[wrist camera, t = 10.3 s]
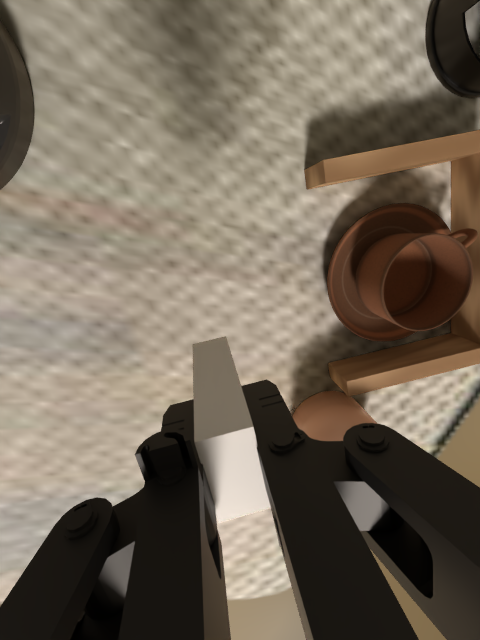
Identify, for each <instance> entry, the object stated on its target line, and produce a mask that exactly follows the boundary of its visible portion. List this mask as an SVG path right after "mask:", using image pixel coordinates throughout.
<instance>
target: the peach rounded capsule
mask: <svg viewBox="0 0 480 640" xmlns="http://www.w3.org/2000/svg"><path fill="white" fill-rule="evenodd" d="M292 417H293V419H294V421H295V423H296V425H297V427H298V428H299V429H300V430H303V431H304V432H305V433H306V434H307V435H308V436H309V437H310V438H312V439H316V440H320V441H343V437H344V435H345V433H346V431H347V430H348V429H350V428H351V427H352V426H355V425H358V424H361V423H376V424H377V422H376V421H375V420H374V419H373V418H372V417H371V416H370V415H369V414H368V413H367V412H366V411H365V410H364V409H363V408H362V407H361V406H360V405H359V403H358V402H357V401H356V400H355V399H354V398H352V397H351V396H350V397H348V396H347V395H346V394H345V393H343V392H339V391H325V392H320V393H317V394H315V395H313V396H311V397H309V398H307V399H306V400H305V401H303V402H302V403H301V404H300V405H299V406H298V408H297V409H296V410H295V412H294V413H293V415H292Z"/></svg>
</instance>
